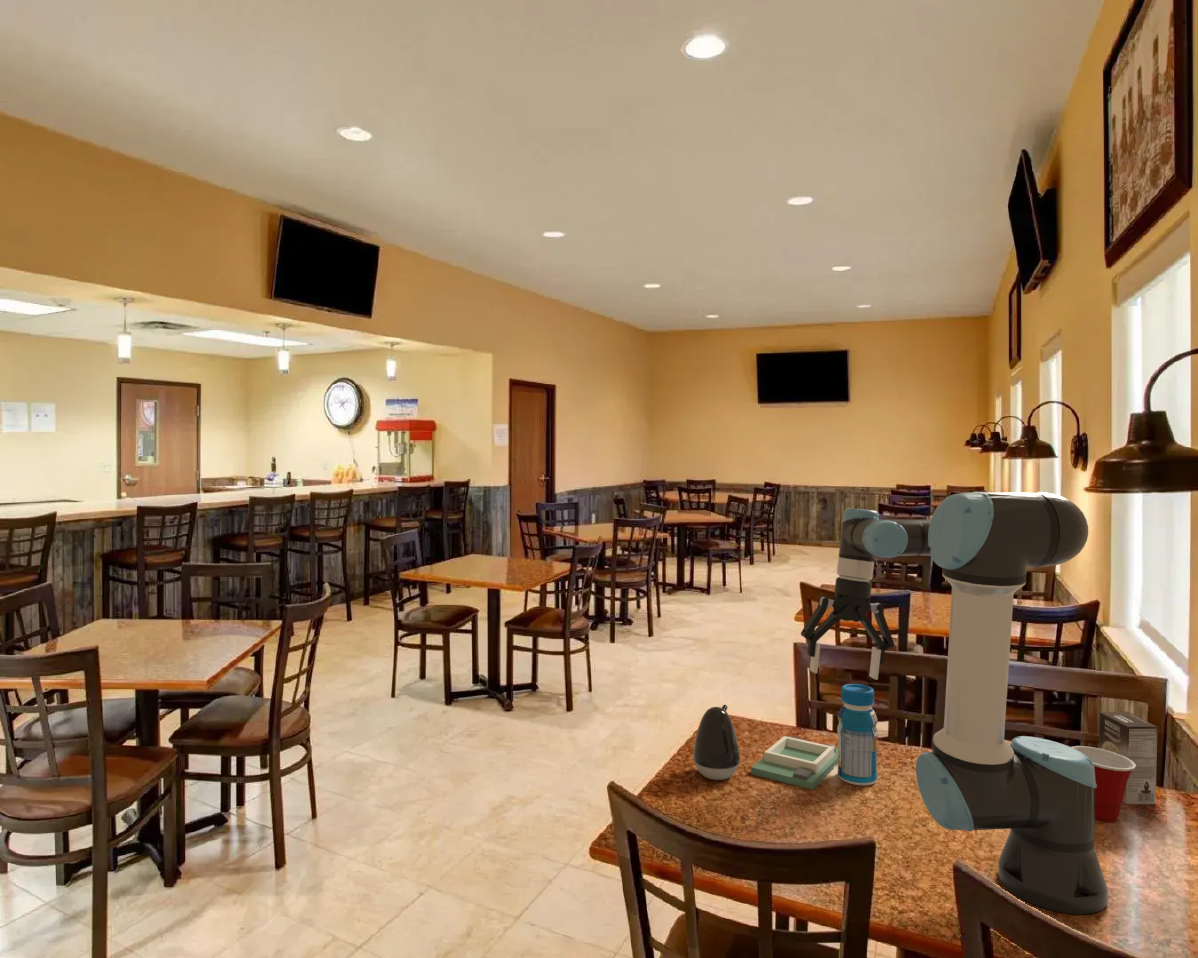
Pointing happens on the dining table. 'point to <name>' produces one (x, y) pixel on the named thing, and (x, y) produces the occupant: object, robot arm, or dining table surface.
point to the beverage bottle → (857, 736)
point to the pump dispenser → (716, 745)
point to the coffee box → (1132, 752)
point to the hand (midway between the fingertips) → (843, 674)
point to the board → (797, 762)
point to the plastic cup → (1108, 781)
